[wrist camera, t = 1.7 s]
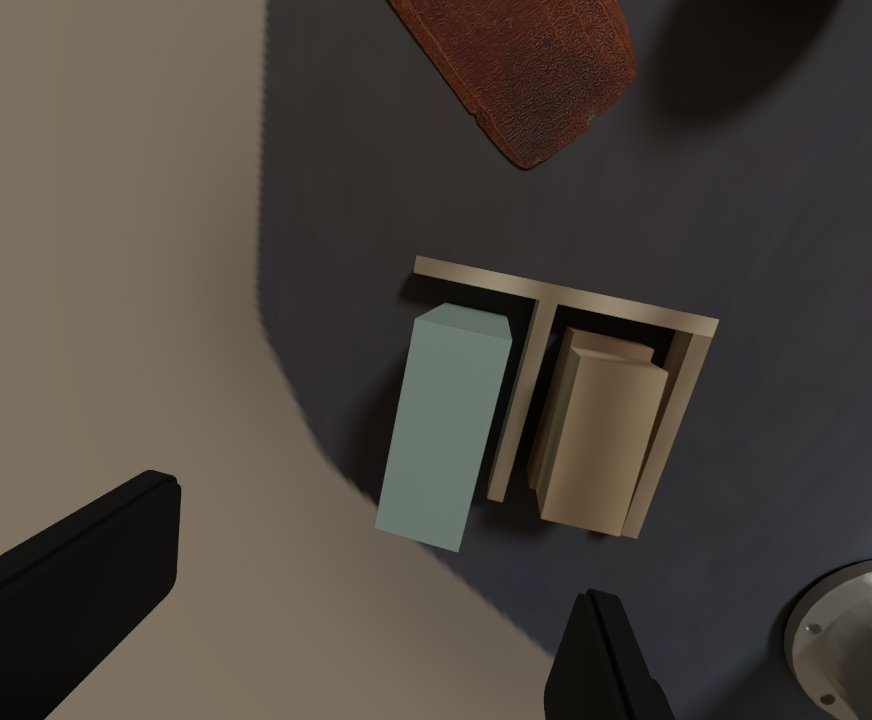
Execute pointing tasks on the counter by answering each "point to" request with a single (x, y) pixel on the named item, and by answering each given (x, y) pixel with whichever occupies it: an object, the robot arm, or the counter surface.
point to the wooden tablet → (527, 65)
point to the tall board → (443, 423)
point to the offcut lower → (570, 339)
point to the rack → (679, 362)
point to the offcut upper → (598, 439)
